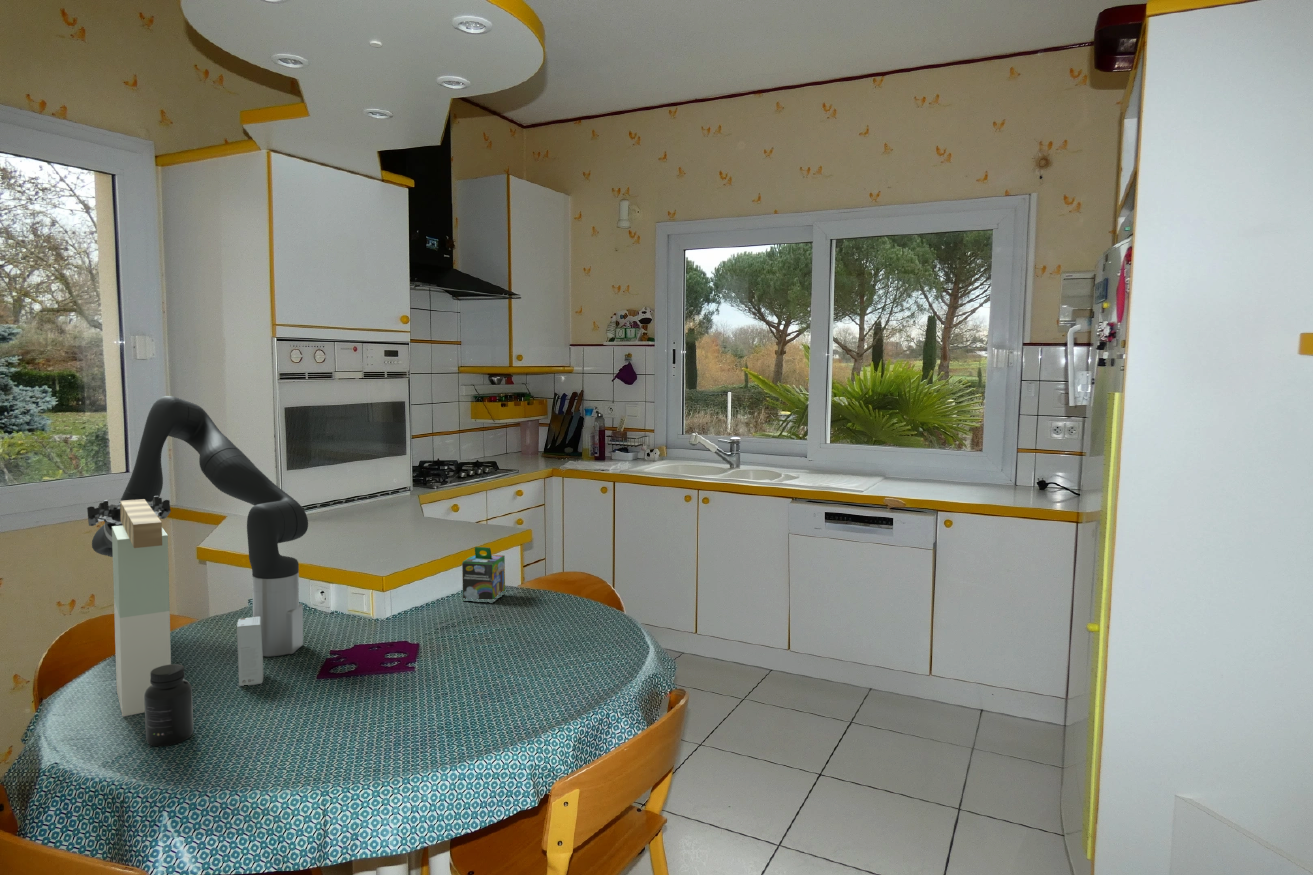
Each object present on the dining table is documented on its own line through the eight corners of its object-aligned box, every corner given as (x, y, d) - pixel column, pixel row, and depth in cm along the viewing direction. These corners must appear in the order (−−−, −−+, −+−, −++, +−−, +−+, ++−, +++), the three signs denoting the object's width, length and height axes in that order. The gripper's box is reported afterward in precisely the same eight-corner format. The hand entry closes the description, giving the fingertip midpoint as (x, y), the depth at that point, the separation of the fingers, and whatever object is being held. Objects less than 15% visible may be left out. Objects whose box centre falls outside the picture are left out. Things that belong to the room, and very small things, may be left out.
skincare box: (263, 683, 154) (262, 624, 153) (237, 687, 152) (236, 626, 151) (263, 672, 159) (262, 615, 158) (238, 675, 157) (237, 617, 156)
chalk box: (505, 595, 219) (506, 543, 218) (492, 604, 210) (493, 551, 209) (475, 592, 221) (475, 541, 220) (461, 601, 212) (461, 548, 211)
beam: (120, 520, 151) (120, 500, 151) (145, 519, 154) (144, 499, 153) (134, 548, 129) (133, 524, 129) (162, 545, 132) (161, 522, 132)
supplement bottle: (159, 728, 134) (158, 661, 133) (201, 728, 134) (199, 661, 133) (136, 747, 127) (134, 676, 126) (180, 747, 127) (178, 676, 126)
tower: (116, 690, 149) (111, 526, 146) (162, 681, 153) (158, 522, 151) (122, 716, 138) (117, 539, 135) (171, 706, 142) (167, 535, 140)
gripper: (83, 511, 165) (87, 488, 153) (162, 504, 174) (171, 481, 162) (86, 545, 163) (90, 524, 151) (165, 536, 172) (175, 516, 160)
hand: (132, 502), depth 157 cm, fingers open, 8 cm apart
